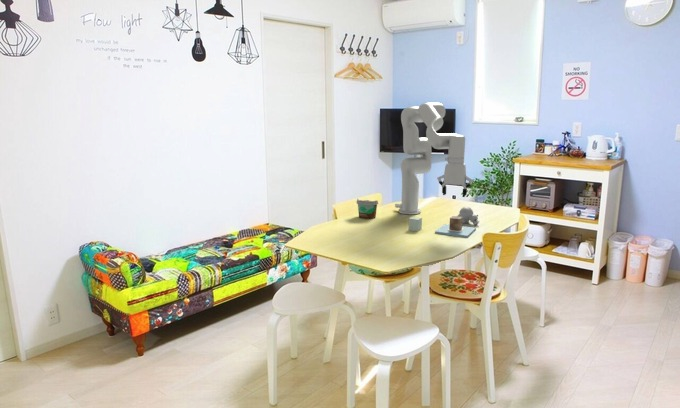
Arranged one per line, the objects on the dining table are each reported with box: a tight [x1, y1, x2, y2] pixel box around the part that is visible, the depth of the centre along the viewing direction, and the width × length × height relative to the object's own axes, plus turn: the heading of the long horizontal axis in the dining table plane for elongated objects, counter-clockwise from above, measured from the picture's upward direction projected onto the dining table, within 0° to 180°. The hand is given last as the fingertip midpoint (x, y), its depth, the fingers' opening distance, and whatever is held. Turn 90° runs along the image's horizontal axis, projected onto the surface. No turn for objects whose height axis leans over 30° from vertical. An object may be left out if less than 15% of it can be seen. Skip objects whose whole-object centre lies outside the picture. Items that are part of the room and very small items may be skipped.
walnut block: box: [448, 215, 463, 231], centre depth 248 cm, size 5×5×6 cm
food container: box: [356, 198, 379, 220], centre depth 274 cm, size 12×6×10 cm, turn 68°
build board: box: [434, 223, 477, 239], centre depth 249 cm, size 16×16×1 cm
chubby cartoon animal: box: [457, 206, 480, 226], centre depth 263 cm, size 7×12×8 cm, turn 43°
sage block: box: [408, 215, 423, 232], centre depth 252 cm, size 5×5×6 cm
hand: (454, 195), depth 245 cm, fingers open, 9 cm apart
